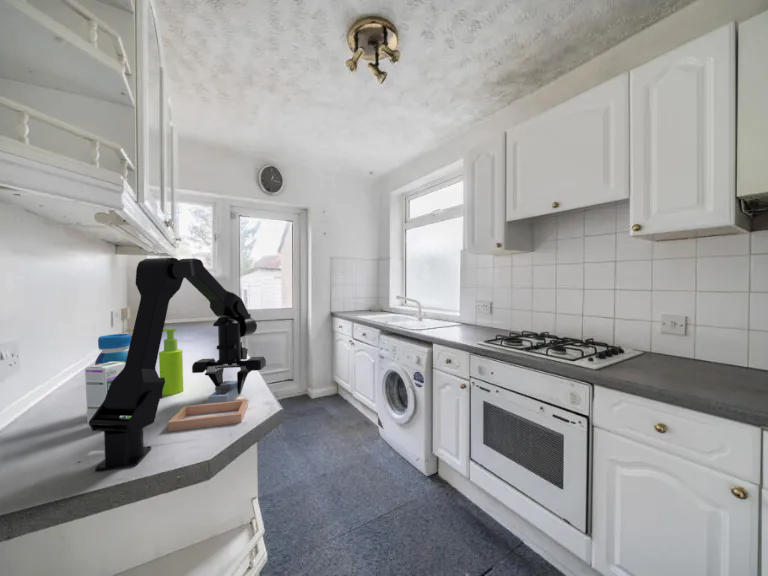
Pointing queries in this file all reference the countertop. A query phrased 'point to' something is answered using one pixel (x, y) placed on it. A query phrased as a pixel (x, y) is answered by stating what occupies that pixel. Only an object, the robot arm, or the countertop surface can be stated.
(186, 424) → the tray
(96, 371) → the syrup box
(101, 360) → the blue lidded jar
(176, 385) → the soap dispenser
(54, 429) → the countertop surface
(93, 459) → the countertop surface
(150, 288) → the robot arm
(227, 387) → the pot lid
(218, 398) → the blue open frame block
